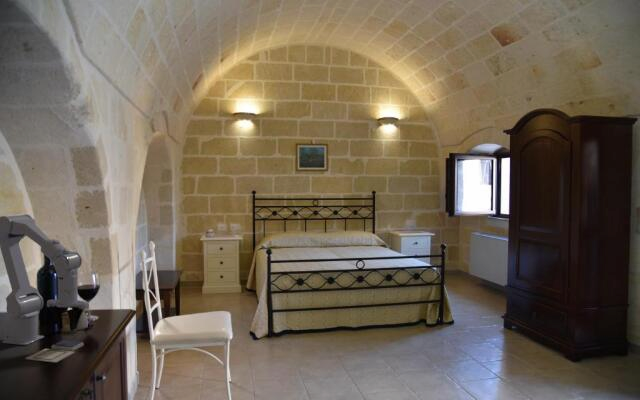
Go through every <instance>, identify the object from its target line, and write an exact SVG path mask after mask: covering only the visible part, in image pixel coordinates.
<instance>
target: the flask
mask: <svg viewBox="0 0 640 400" xmlns="http://www.w3.org/2000/svg"><path fill="white" fill-rule="evenodd" d="M81 301H82V302H85V301H84V300H81ZM88 323H89V324H90V322H89V320H88V318H87V316H86V313H85V310H84V311H83V312H82V314H81V316H80V318H79V321H78V325H77V328H76V331H81V330H85V329H87V328H89V327H88Z"/></svg>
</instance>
